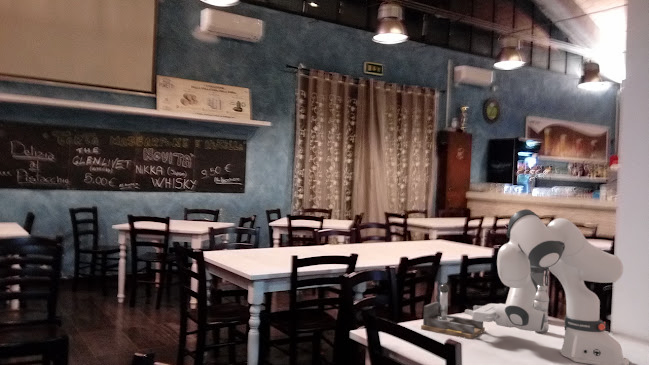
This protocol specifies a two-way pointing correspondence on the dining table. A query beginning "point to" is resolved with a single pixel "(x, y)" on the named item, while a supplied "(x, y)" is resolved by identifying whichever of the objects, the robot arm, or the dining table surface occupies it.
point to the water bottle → (539, 275)
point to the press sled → (444, 303)
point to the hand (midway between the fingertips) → (469, 309)
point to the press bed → (450, 323)
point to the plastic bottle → (542, 305)
